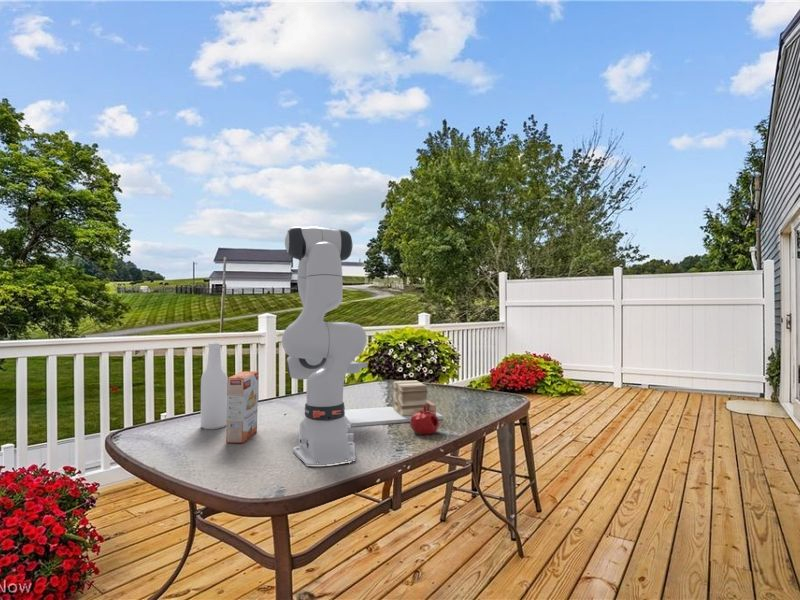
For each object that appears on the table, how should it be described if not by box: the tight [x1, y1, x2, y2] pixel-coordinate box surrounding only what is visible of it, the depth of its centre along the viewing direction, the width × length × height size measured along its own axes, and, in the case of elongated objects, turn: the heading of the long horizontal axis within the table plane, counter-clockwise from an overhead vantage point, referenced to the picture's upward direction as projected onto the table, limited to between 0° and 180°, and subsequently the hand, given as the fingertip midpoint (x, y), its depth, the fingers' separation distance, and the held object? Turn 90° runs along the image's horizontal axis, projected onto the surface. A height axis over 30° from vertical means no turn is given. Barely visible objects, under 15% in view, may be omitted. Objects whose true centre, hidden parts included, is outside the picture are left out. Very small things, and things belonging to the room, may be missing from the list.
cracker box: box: [225, 371, 259, 444], centre depth 152 cm, size 14×6×21 cm, turn 179°
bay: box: [344, 399, 444, 427], centre depth 180 cm, size 20×36×5 cm, turn 108°
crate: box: [392, 380, 428, 416], centre depth 183 cm, size 12×10×11 cm
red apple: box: [409, 405, 440, 435], centre depth 159 cm, size 10×10×9 cm
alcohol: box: [200, 341, 228, 430], centre depth 164 cm, size 9×9×30 cm
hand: (366, 365), depth 177 cm, fingers closed
